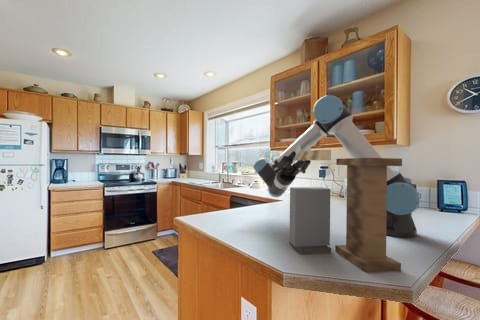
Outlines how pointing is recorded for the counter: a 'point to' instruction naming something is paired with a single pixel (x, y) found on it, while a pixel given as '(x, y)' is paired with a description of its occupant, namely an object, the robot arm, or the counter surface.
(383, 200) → the stand
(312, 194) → the grey rectangular block
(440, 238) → the counter surface
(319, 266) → the counter surface
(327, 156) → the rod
